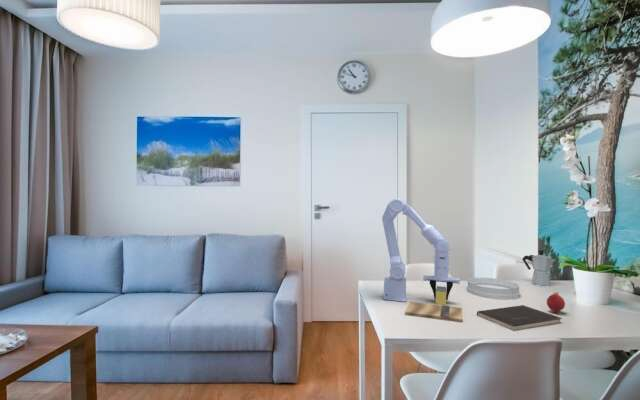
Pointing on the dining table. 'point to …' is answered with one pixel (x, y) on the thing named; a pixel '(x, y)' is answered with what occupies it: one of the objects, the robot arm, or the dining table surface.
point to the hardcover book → (519, 317)
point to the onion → (555, 302)
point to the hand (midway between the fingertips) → (441, 299)
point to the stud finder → (441, 295)
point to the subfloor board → (434, 311)
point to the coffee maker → (540, 268)
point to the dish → (493, 288)
